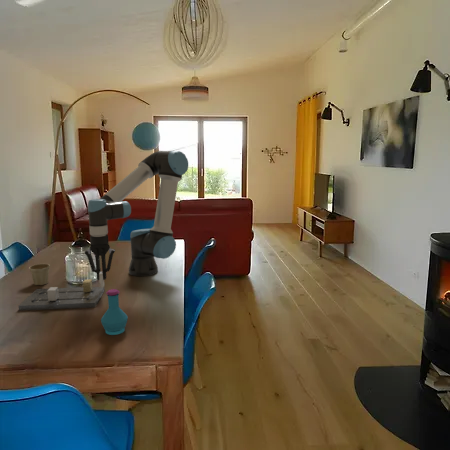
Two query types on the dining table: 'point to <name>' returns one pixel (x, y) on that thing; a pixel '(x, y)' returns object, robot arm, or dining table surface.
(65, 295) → the console
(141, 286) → the dining table surface
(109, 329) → the perfume bottle
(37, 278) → the flower pot
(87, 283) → the block
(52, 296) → the grey fader
